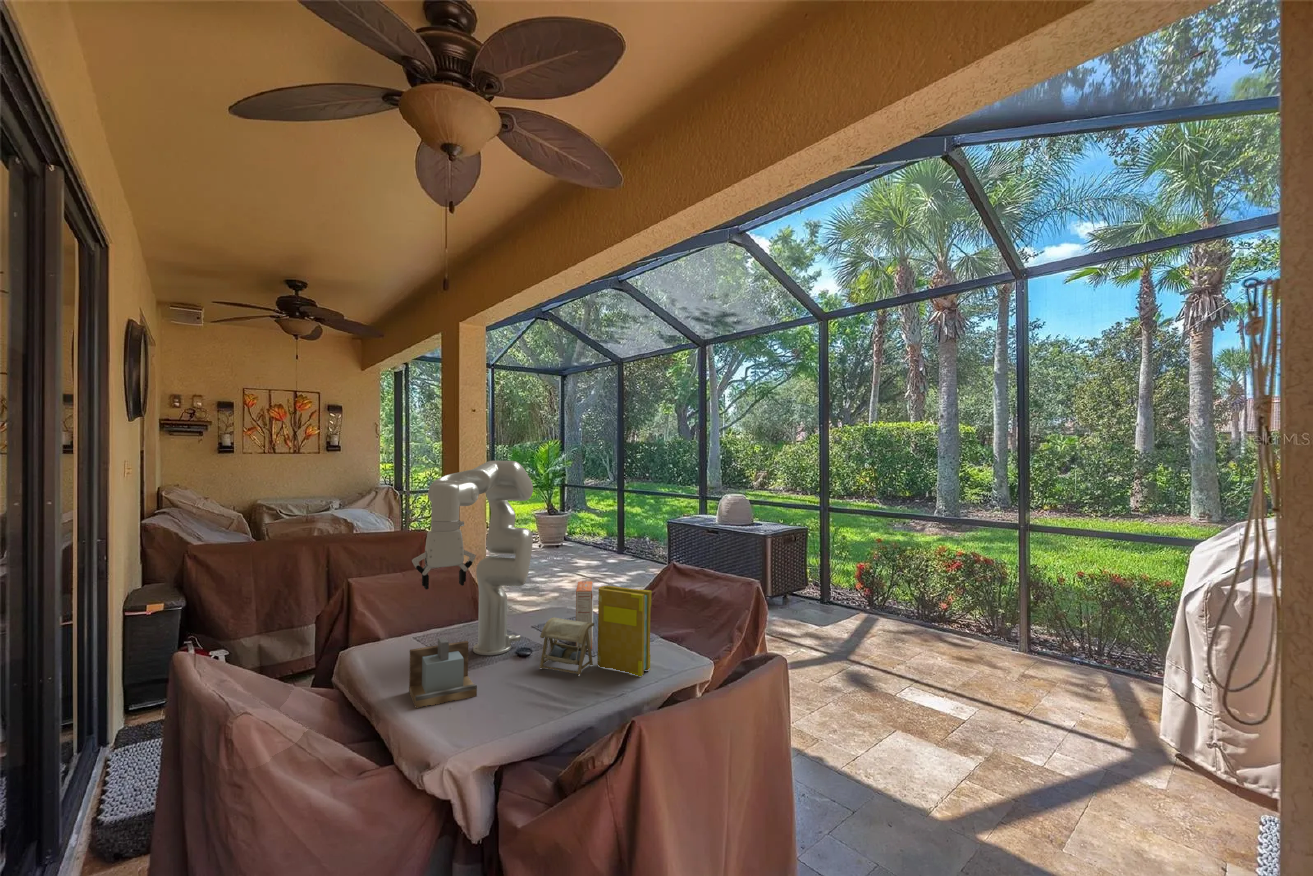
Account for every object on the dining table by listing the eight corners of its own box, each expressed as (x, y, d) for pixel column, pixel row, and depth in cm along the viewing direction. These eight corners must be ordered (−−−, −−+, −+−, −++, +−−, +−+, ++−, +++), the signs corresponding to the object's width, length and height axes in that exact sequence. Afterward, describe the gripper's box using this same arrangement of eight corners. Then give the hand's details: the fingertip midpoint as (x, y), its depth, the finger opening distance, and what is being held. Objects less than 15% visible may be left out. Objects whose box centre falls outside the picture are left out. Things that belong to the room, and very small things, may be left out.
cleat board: (466, 681, 175) (467, 640, 175) (476, 696, 164) (477, 653, 164) (409, 692, 166) (409, 649, 166) (415, 708, 156) (416, 663, 156)
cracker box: (576, 637, 215) (577, 580, 215) (593, 637, 216) (593, 580, 216) (574, 651, 201) (575, 590, 201) (592, 650, 202) (593, 590, 202)
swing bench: (538, 670, 184) (539, 623, 184) (553, 660, 193) (554, 615, 193) (580, 677, 179) (580, 629, 179) (594, 666, 188) (594, 620, 188)
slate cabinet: (457, 678, 172) (458, 633, 172) (463, 686, 166) (464, 640, 166) (421, 684, 167) (422, 639, 167) (425, 694, 161) (426, 646, 161)
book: (650, 669, 185) (651, 590, 186) (640, 677, 179) (642, 595, 180) (603, 660, 192) (605, 584, 193) (593, 667, 186) (594, 589, 187)
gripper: (472, 523, 174) (471, 580, 174) (410, 526, 165) (409, 587, 165) (479, 526, 168) (478, 585, 168) (414, 530, 159) (413, 593, 159)
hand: (444, 586), depth 167 cm, fingers open, 9 cm apart
